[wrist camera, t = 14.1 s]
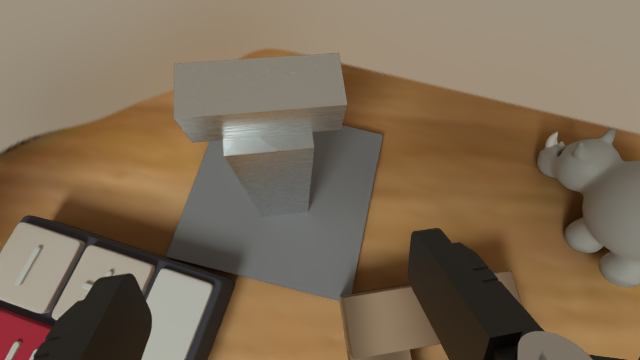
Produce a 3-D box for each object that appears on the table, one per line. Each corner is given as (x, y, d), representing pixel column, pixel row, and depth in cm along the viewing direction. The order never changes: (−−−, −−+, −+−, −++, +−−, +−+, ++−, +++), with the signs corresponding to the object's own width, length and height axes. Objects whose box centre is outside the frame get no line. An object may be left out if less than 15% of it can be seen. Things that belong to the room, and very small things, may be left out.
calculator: (13, 210, 22) (221, 279, 20) (62, 222, 26) (237, 280, 24) (-98, 390, 18) (141, 486, 17) (-22, 371, 22) (175, 447, 21)
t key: (246, 218, 25) (173, 137, 11) (243, 174, 26) (174, 47, 12) (322, 210, 26) (350, 122, 11) (317, 167, 27) (336, 37, 12)
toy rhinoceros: (556, 159, 32) (610, 87, 25) (684, 265, 25) (808, 203, 18) (496, 185, 30) (536, 116, 24) (613, 304, 23) (718, 253, 17)
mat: (169, 257, 24) (165, 256, 24) (228, 100, 29) (226, 96, 28) (348, 302, 24) (349, 303, 24) (381, 137, 28) (383, 134, 28)
